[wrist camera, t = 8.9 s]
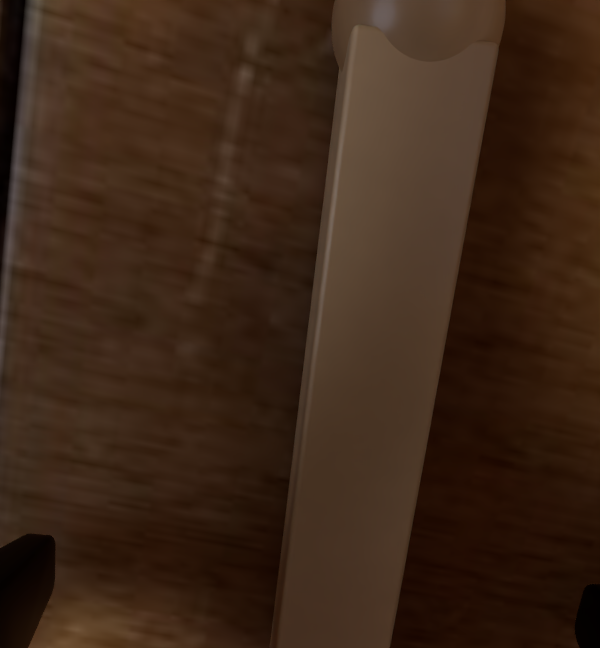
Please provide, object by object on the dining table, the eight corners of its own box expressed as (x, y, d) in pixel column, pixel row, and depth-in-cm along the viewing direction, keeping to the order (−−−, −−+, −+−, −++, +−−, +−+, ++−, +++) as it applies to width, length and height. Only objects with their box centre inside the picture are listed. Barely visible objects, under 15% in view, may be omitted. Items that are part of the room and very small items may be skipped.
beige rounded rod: (483, -22, 7) (558, -111, 5) (316, 952, 11) (322, 1111, 9) (336, -41, 7) (353, -139, 5) (223, 946, 11) (208, 1106, 9)
